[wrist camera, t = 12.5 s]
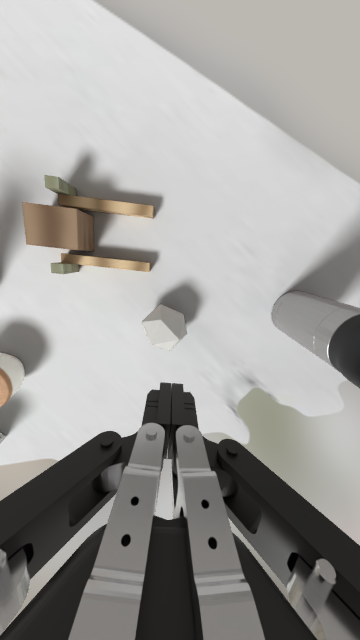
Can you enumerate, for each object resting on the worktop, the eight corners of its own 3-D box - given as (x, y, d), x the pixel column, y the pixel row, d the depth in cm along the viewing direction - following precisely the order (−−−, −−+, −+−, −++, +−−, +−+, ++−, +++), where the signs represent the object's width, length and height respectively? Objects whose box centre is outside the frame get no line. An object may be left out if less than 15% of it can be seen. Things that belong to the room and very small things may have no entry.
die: (154, 295, 44) (126, 323, 37) (191, 300, 40) (168, 332, 34) (162, 324, 49) (139, 354, 42) (196, 331, 45) (176, 365, 39)
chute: (154, 199, 38) (151, 189, 32) (149, 279, 42) (145, 282, 36) (64, 187, 37) (44, 175, 31) (68, 270, 41) (51, 272, 35)
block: (93, 217, 38) (76, 208, 32) (93, 251, 40) (77, 250, 33) (48, 211, 38) (22, 202, 31) (51, 246, 40) (26, 244, 33)
